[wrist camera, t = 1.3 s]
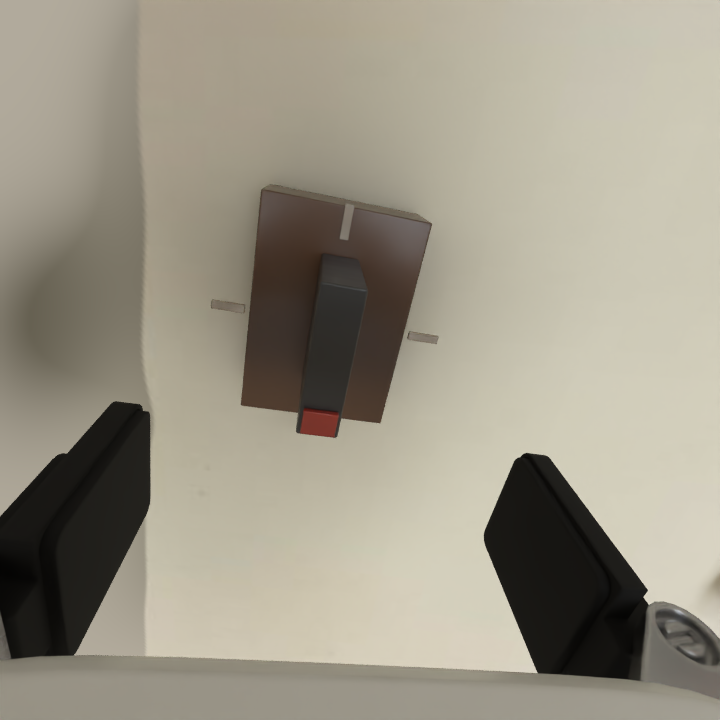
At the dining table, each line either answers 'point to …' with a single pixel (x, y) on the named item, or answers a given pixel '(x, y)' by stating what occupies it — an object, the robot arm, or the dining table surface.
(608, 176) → the dining table surface
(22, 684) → the robot arm
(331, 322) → the bar knob
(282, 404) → the knob base block
